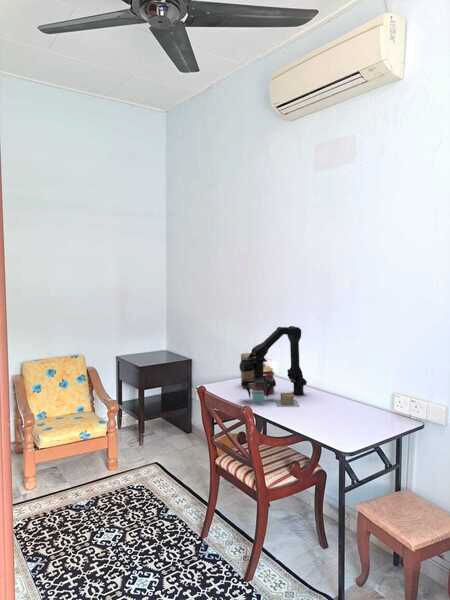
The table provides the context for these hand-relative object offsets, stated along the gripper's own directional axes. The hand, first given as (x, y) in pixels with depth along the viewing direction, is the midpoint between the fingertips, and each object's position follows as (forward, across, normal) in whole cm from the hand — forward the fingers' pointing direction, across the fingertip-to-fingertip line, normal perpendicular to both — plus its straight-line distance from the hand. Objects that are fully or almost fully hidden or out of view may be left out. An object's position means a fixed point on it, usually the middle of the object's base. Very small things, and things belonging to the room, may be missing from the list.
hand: (258, 397), depth 242 cm
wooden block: (+2, -3, +28) cm, 28 cm away
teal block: (+2, 0, 0) cm, 2 cm away
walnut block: (+1, +15, -6) cm, 16 cm away
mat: (+2, +15, -6) cm, 16 cm away
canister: (+2, +4, +15) cm, 16 cm away
